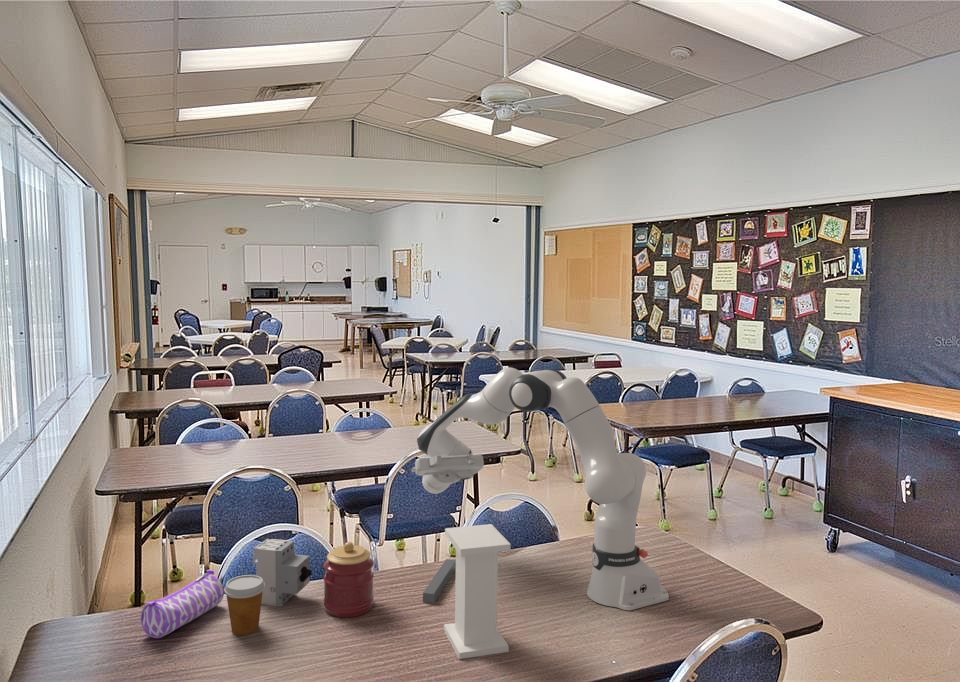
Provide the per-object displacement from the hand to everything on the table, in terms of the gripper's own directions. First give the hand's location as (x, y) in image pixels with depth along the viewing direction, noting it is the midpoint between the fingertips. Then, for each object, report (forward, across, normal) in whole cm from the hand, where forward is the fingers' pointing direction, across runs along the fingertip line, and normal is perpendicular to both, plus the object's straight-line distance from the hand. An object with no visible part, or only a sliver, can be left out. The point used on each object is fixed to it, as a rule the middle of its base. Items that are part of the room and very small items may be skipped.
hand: (455, 457), depth 202 cm
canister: (-11, -31, +36) cm, 49 cm away
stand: (+12, -4, +49) cm, 50 cm away
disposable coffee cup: (-7, -57, +38) cm, 69 cm away
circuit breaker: (-19, -47, +31) cm, 60 cm away
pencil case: (-14, -72, +34) cm, 81 cm away
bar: (-17, -4, +32) cm, 37 cm away
